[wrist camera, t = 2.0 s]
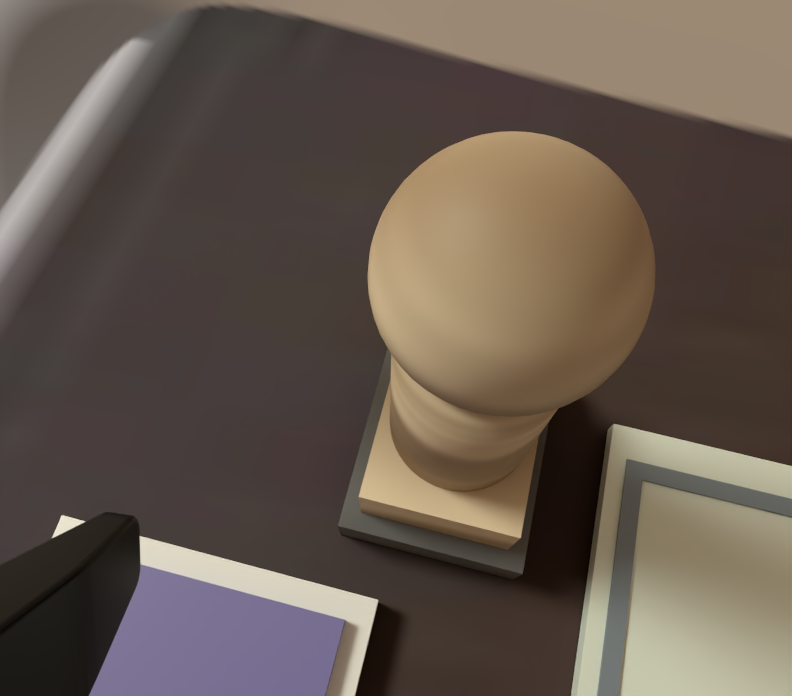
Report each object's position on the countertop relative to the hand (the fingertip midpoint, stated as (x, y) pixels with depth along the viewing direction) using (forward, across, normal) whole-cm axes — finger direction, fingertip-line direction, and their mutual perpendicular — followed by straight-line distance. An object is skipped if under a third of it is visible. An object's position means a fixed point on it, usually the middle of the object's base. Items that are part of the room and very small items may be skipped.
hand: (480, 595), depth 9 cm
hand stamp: (+11, 0, +5) cm, 12 cm away
